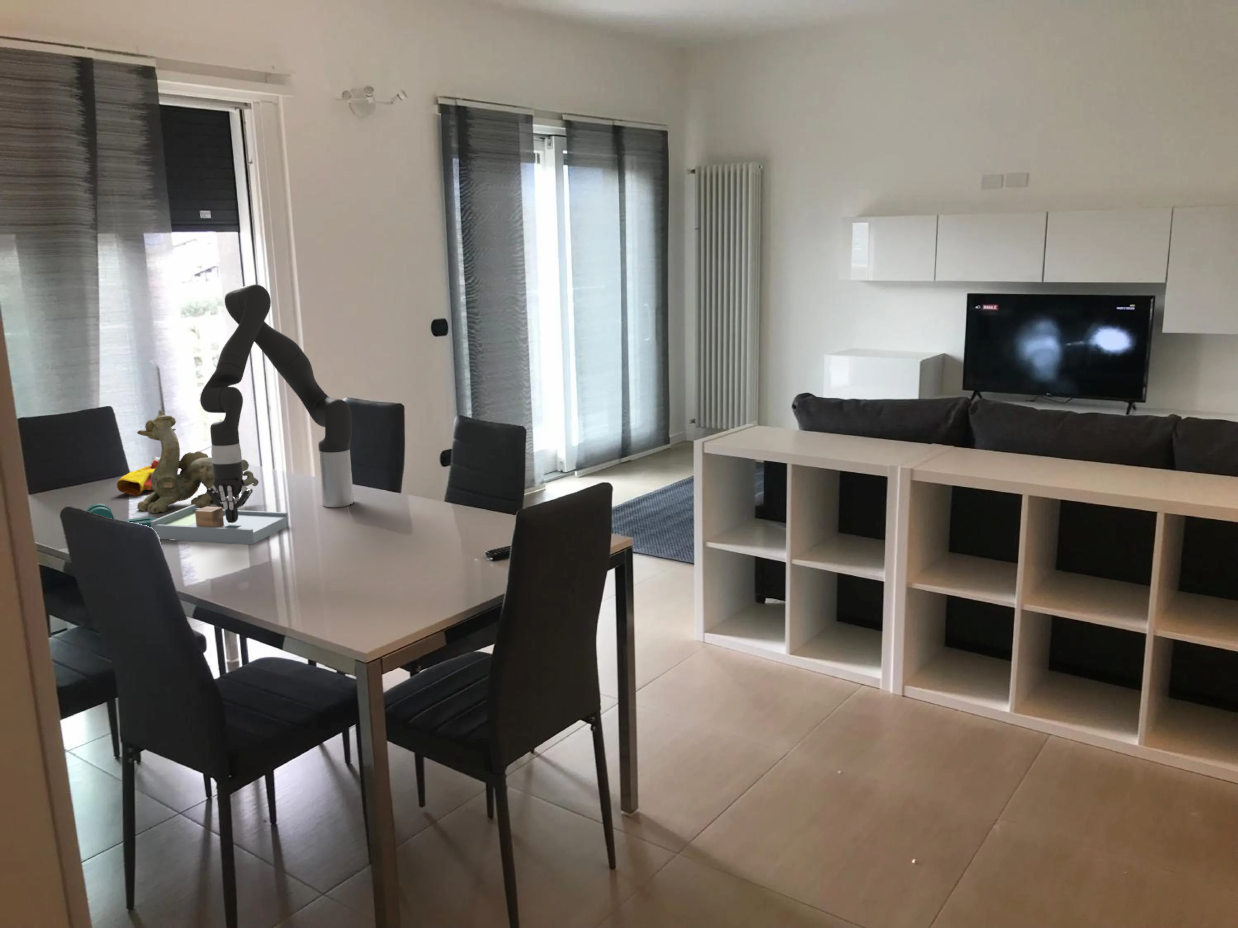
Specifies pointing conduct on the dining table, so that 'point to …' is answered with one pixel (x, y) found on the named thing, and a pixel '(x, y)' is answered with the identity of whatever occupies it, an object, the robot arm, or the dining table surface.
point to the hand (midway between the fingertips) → (232, 522)
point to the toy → (138, 479)
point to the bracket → (106, 512)
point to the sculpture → (192, 472)
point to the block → (209, 517)
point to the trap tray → (240, 532)
